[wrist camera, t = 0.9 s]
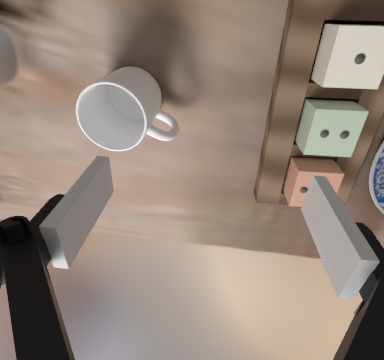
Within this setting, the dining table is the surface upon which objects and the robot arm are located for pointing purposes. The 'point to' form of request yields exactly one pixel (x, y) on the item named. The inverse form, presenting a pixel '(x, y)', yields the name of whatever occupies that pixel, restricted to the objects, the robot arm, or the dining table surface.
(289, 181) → the tile three
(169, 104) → the dining table surface
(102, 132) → the cup
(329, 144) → the tile two
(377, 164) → the ceramic plate
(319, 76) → the tile one
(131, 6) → the dining table surface
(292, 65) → the button board
